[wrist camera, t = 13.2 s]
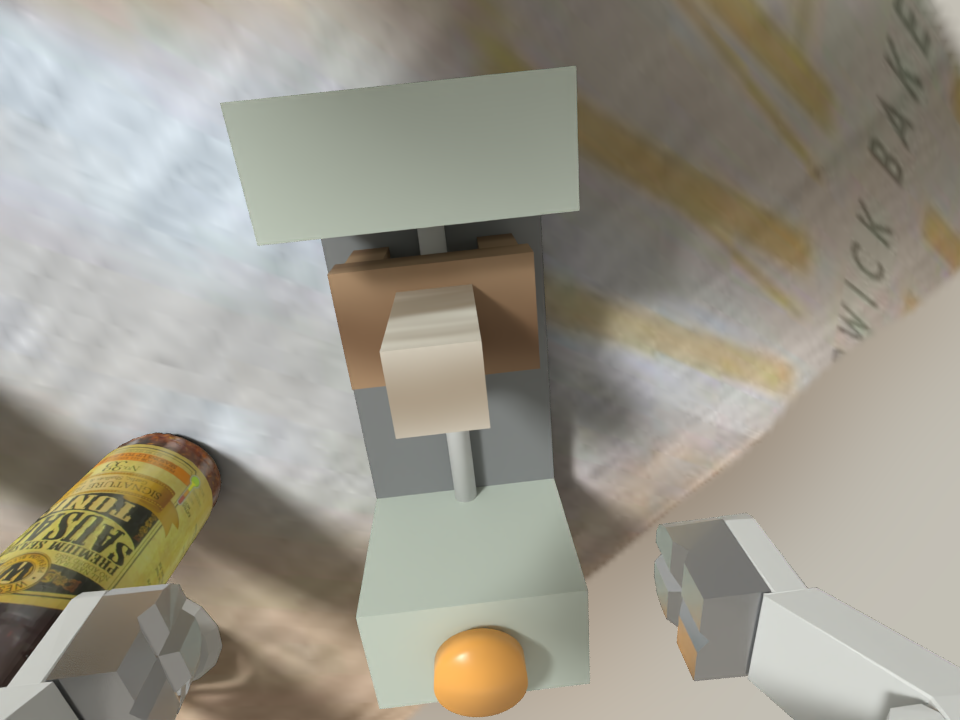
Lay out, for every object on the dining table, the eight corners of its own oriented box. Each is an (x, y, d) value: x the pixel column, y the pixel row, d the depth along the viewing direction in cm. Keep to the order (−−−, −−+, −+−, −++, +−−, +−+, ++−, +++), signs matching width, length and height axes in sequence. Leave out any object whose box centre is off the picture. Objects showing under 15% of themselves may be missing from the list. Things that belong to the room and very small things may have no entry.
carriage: (344, 251, 25) (286, 329, 16) (520, 232, 25) (564, 298, 16) (364, 352, 27) (323, 474, 18) (527, 334, 27) (569, 445, 18)
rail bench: (304, 108, 24) (220, 102, 15) (527, 85, 25) (576, 65, 15) (396, 554, 35) (379, 709, 26) (552, 536, 35) (590, 683, 26)
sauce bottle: (218, 426, 31) (-112, 876, 12) (233, 516, 33) (-25, 1000, 15) (95, 424, 30) (-437, 890, 12) (119, 515, 33) (-290, 1016, 14)
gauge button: (431, 550, 28) (427, 659, 22) (508, 540, 28) (525, 647, 22) (441, 607, 30) (440, 721, 24) (514, 597, 30) (530, 711, 24)
